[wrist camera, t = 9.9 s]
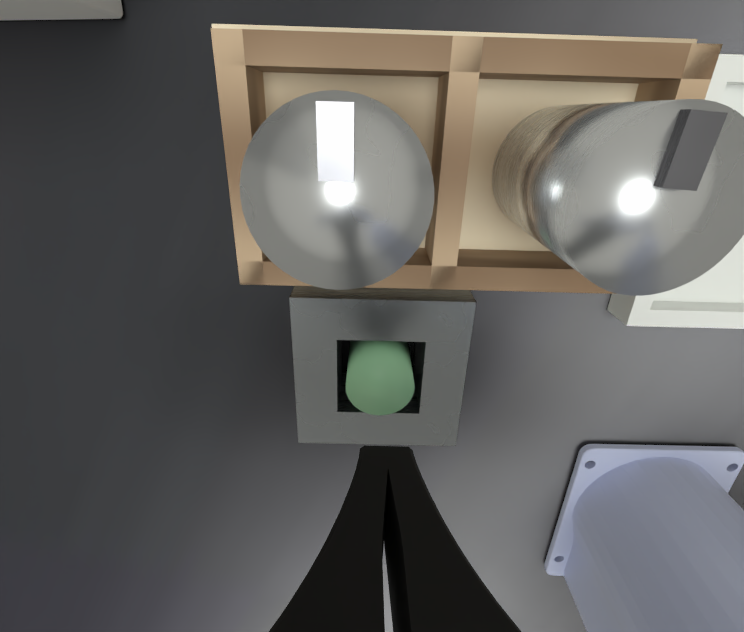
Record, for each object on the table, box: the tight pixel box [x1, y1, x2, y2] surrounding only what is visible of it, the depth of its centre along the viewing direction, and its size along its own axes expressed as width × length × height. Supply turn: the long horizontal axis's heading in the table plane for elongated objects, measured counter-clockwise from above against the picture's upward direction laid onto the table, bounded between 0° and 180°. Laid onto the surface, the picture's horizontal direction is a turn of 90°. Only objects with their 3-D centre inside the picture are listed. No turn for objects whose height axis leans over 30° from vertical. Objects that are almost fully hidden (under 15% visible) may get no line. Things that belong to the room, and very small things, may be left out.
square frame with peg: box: [289, 286, 476, 446], centre depth 17 cm, size 6×6×3 cm
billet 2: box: [492, 99, 744, 296], centre depth 11 cm, size 4×4×6 cm
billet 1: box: [240, 90, 434, 290], centre depth 11 cm, size 4×4×6 cm
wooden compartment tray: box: [211, 24, 723, 294], centre depth 14 cm, size 8×14×3 cm, turn 88°
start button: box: [346, 340, 415, 415], centre depth 17 cm, size 2×2×3 cm
